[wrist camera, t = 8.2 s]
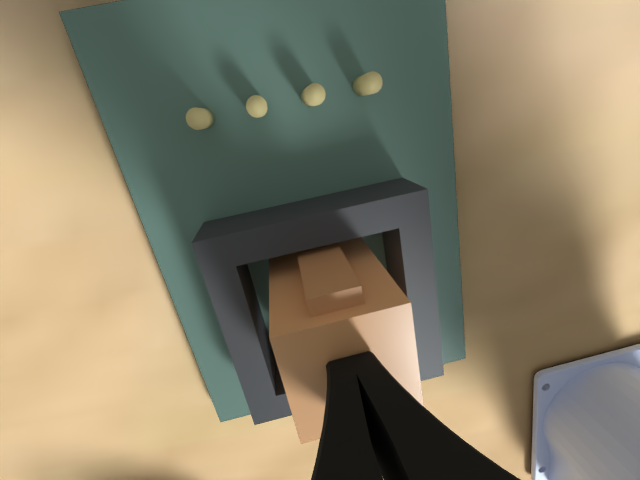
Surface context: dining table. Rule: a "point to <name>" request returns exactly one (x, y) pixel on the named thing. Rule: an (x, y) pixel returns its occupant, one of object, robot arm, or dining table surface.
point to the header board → (280, 160)
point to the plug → (336, 323)
